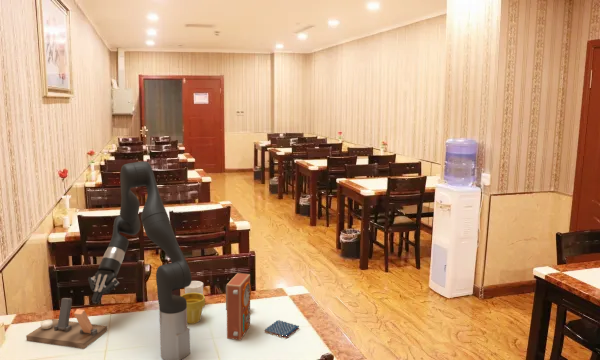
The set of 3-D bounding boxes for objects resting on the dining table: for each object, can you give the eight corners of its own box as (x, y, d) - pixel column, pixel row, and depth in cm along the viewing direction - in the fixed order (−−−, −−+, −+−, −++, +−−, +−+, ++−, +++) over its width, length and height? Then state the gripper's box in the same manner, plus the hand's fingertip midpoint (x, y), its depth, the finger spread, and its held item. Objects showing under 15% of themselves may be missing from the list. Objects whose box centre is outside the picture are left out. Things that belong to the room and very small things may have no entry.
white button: (55, 325, 189) (54, 320, 188) (47, 329, 185) (47, 324, 184) (46, 323, 190) (45, 319, 189) (38, 328, 186) (38, 323, 185)
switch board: (107, 330, 190) (107, 322, 189) (84, 348, 176) (83, 339, 176) (53, 323, 195) (52, 315, 194) (26, 340, 181) (25, 331, 181)
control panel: (253, 324, 197) (241, 342, 183) (236, 322, 199) (223, 340, 184) (253, 273, 194) (240, 287, 179) (236, 271, 195) (222, 285, 181)
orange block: (94, 330, 184) (84, 309, 178) (91, 334, 183) (81, 314, 176) (87, 329, 185) (77, 309, 178) (84, 333, 183) (73, 313, 177)
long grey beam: (67, 329, 186) (72, 298, 188) (64, 330, 184) (68, 299, 186) (60, 328, 187) (65, 297, 188) (57, 329, 185) (61, 298, 186)
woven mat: (277, 323, 200) (277, 318, 199) (300, 329, 194) (300, 325, 194) (262, 333, 191) (262, 329, 190) (286, 341, 185) (286, 335, 185)
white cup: (185, 310, 208) (184, 288, 207) (184, 303, 216) (184, 281, 214) (204, 309, 211) (203, 286, 209) (202, 301, 218) (202, 280, 216)
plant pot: (207, 323, 197) (207, 300, 195) (181, 327, 193) (180, 304, 192) (202, 313, 207) (202, 291, 205) (177, 316, 203) (176, 294, 201)
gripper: (92, 255, 194) (74, 296, 185) (123, 258, 192) (106, 300, 182) (101, 263, 200) (84, 304, 191) (131, 266, 198) (114, 308, 188)
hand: (94, 302), depth 186 cm, fingers closed
